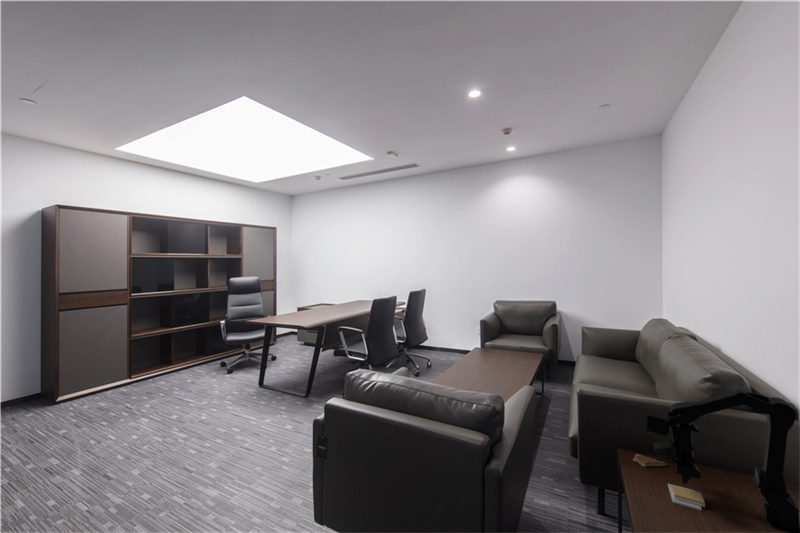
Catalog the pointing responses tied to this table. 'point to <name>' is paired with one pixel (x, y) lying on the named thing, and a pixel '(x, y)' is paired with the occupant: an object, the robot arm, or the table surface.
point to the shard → (647, 461)
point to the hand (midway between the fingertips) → (684, 482)
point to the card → (687, 495)
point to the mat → (683, 501)
